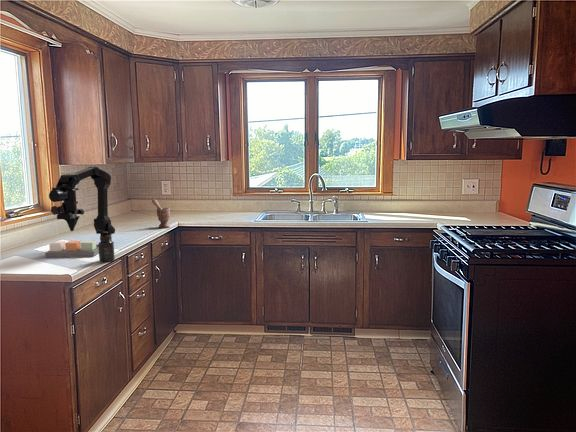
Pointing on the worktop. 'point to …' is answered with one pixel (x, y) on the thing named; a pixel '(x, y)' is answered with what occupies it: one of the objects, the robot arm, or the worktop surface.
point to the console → (72, 253)
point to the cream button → (57, 246)
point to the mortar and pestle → (162, 215)
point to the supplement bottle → (106, 249)
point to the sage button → (88, 245)
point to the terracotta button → (73, 245)
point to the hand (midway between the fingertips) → (72, 231)
